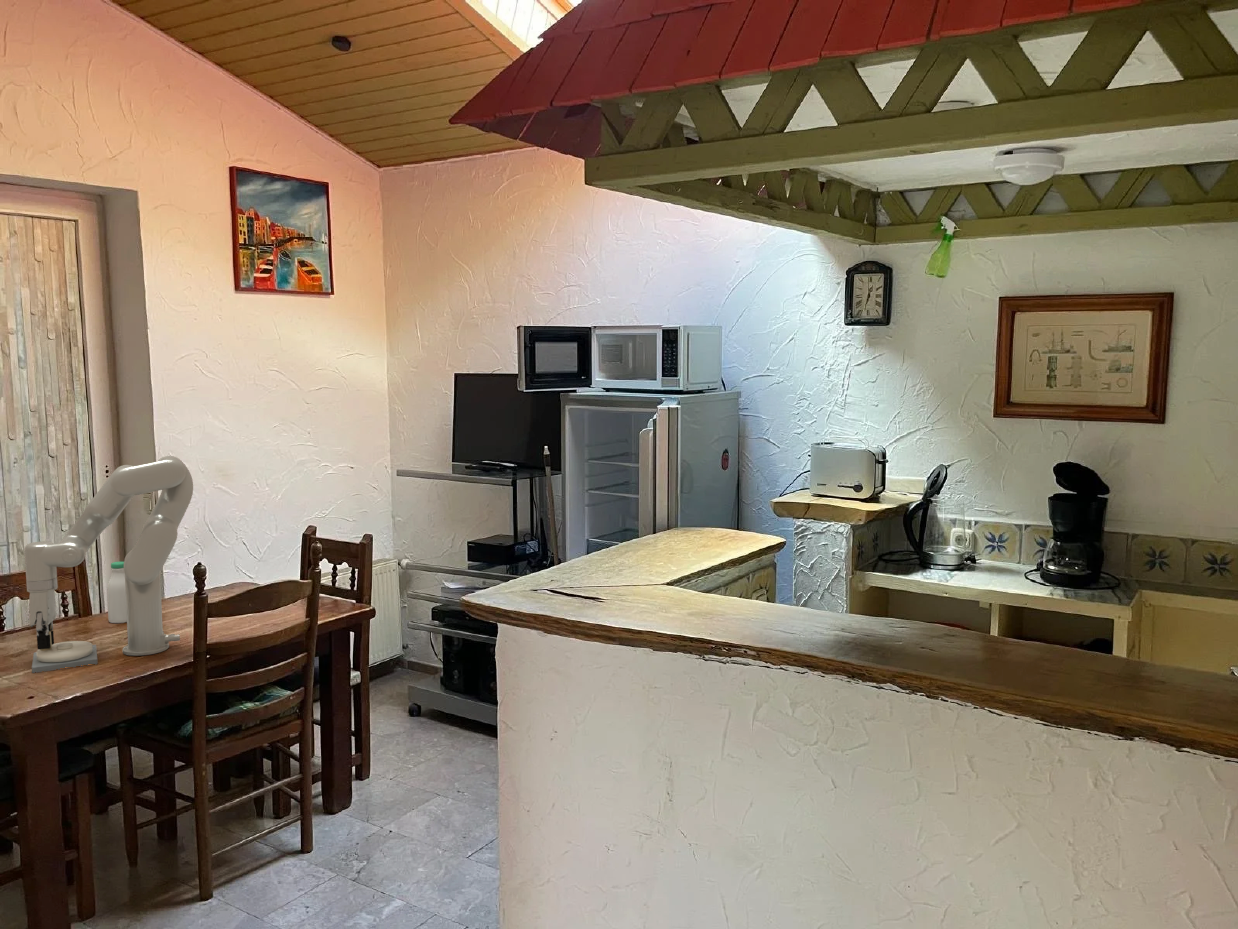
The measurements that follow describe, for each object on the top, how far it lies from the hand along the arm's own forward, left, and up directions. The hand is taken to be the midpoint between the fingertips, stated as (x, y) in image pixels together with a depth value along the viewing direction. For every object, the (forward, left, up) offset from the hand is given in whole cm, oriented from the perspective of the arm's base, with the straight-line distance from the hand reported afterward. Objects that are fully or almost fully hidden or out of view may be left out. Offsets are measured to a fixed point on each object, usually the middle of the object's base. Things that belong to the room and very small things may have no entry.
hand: (45, 646), depth 266 cm
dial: (-5, +1, -3) cm, 6 cm away
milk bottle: (-21, -39, -5) cm, 44 cm away
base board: (-5, +1, -5) cm, 7 cm away
